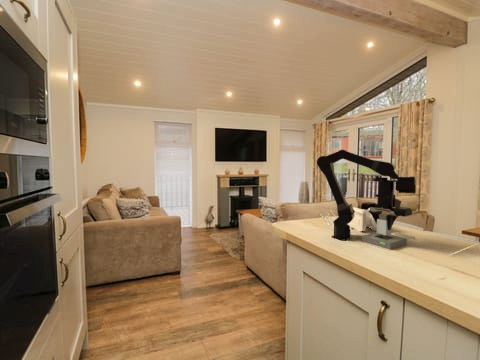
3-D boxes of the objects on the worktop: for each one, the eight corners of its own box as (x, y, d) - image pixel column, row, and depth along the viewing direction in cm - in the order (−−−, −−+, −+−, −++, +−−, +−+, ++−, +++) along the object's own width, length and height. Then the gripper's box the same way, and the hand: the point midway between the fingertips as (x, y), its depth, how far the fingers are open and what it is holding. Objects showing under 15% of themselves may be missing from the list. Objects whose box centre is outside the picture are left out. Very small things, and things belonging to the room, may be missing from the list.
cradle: (386, 238, 116) (386, 234, 116) (396, 235, 120) (396, 232, 120) (405, 243, 109) (405, 239, 109) (415, 240, 113) (415, 236, 113)
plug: (376, 232, 109) (377, 214, 108) (382, 231, 111) (382, 213, 110) (385, 235, 105) (386, 216, 105) (391, 233, 107) (392, 215, 107)
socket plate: (361, 242, 110) (362, 235, 110) (378, 238, 116) (378, 231, 116) (389, 250, 100) (390, 243, 100) (406, 245, 106) (406, 238, 106)
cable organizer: (381, 233, 124) (382, 209, 124) (361, 234, 123) (361, 210, 122) (363, 225, 139) (363, 204, 138) (344, 226, 138) (345, 205, 137)
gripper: (420, 193, 103) (418, 231, 104) (375, 189, 119) (374, 222, 120) (405, 195, 97) (403, 235, 98) (360, 190, 113) (359, 225, 114)
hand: (384, 228), depth 108 cm, fingers closed on plug, 4 cm apart
